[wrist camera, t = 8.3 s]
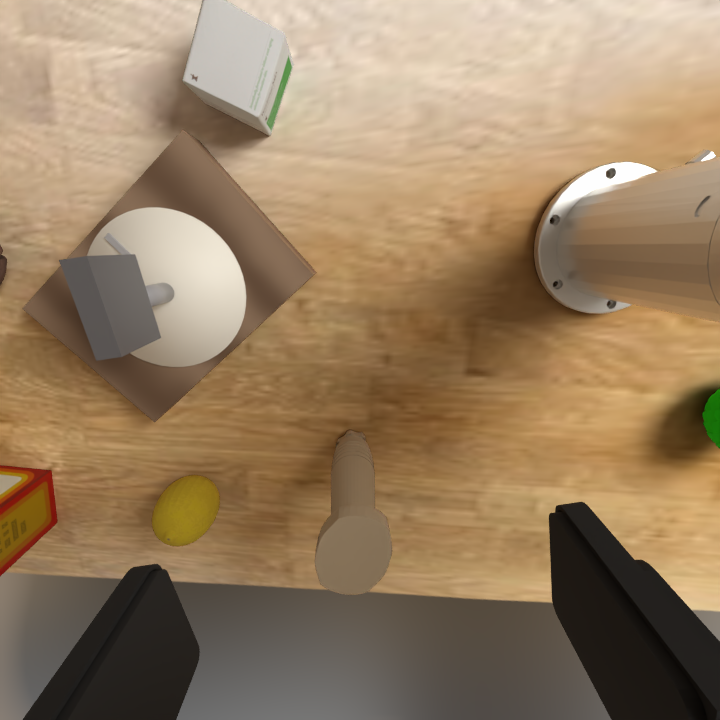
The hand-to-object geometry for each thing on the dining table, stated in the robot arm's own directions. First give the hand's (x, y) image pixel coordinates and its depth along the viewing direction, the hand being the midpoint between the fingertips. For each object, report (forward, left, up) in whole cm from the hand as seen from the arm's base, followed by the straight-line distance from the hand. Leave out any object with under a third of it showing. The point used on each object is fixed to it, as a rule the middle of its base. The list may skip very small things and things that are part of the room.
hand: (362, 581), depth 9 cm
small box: (-7, -20, -28) cm, 35 cm away
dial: (+9, -13, -25) cm, 29 cm away
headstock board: (+9, -13, -28) cm, 32 cm away
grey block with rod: (+11, -15, -24) cm, 30 cm away
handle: (+8, +9, -28) cm, 30 cm away
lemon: (+23, +2, -28) cm, 36 cm away
